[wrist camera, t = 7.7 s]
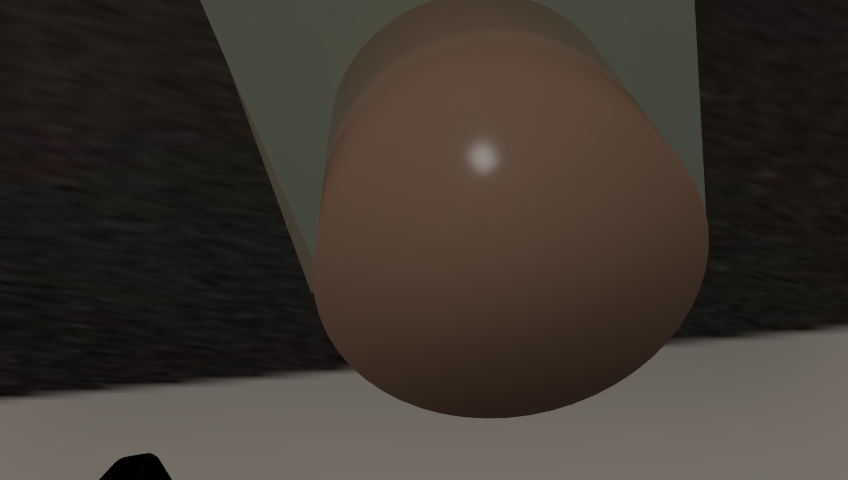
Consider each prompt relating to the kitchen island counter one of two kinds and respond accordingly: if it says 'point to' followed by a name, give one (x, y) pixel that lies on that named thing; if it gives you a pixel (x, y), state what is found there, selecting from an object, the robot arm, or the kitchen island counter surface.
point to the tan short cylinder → (499, 215)
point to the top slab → (381, 3)
